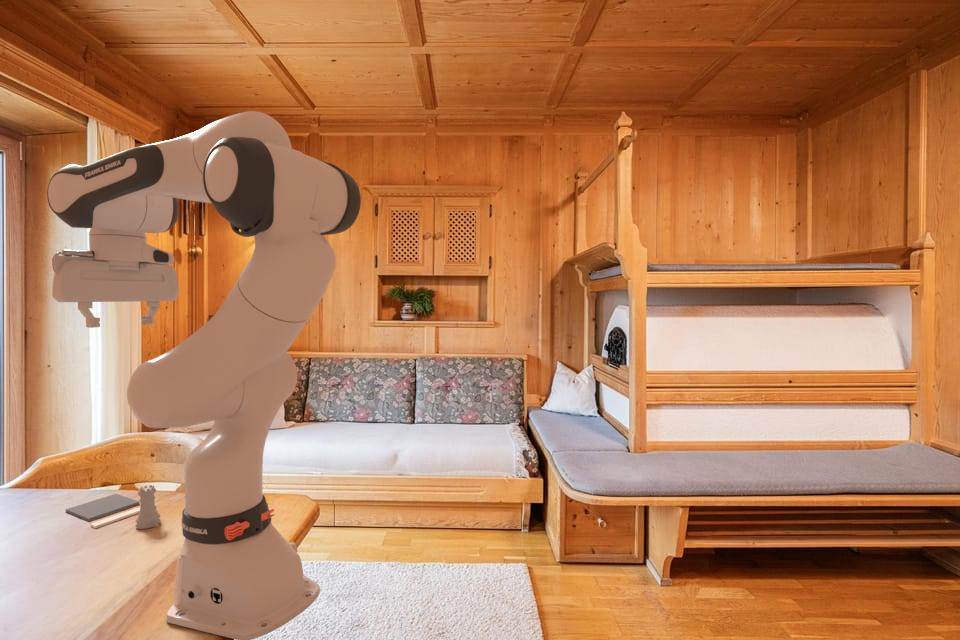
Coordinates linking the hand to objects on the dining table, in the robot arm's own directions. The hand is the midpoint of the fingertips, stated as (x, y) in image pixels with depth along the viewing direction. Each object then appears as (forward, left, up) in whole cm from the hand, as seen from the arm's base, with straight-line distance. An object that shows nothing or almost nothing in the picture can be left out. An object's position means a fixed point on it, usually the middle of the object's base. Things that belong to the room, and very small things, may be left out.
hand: (121, 326), depth 96 cm
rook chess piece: (+4, -6, -42) cm, 43 cm away
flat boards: (+19, -5, -42) cm, 46 cm away
